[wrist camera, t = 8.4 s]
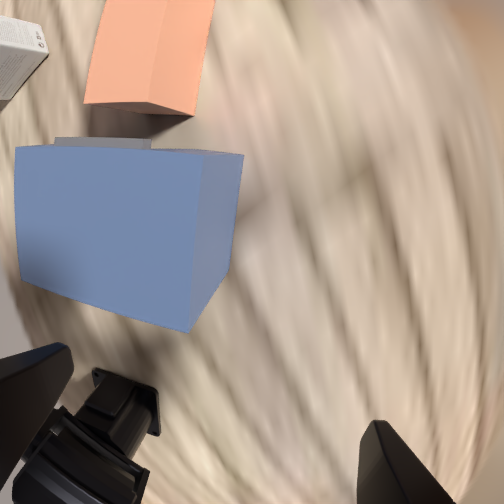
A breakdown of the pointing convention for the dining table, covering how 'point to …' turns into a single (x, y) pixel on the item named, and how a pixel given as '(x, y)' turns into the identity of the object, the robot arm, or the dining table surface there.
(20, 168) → the block
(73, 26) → the dining table surface
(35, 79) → the dining table surface
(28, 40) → the skincare box
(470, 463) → the dining table surface
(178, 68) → the salmon pink prism
